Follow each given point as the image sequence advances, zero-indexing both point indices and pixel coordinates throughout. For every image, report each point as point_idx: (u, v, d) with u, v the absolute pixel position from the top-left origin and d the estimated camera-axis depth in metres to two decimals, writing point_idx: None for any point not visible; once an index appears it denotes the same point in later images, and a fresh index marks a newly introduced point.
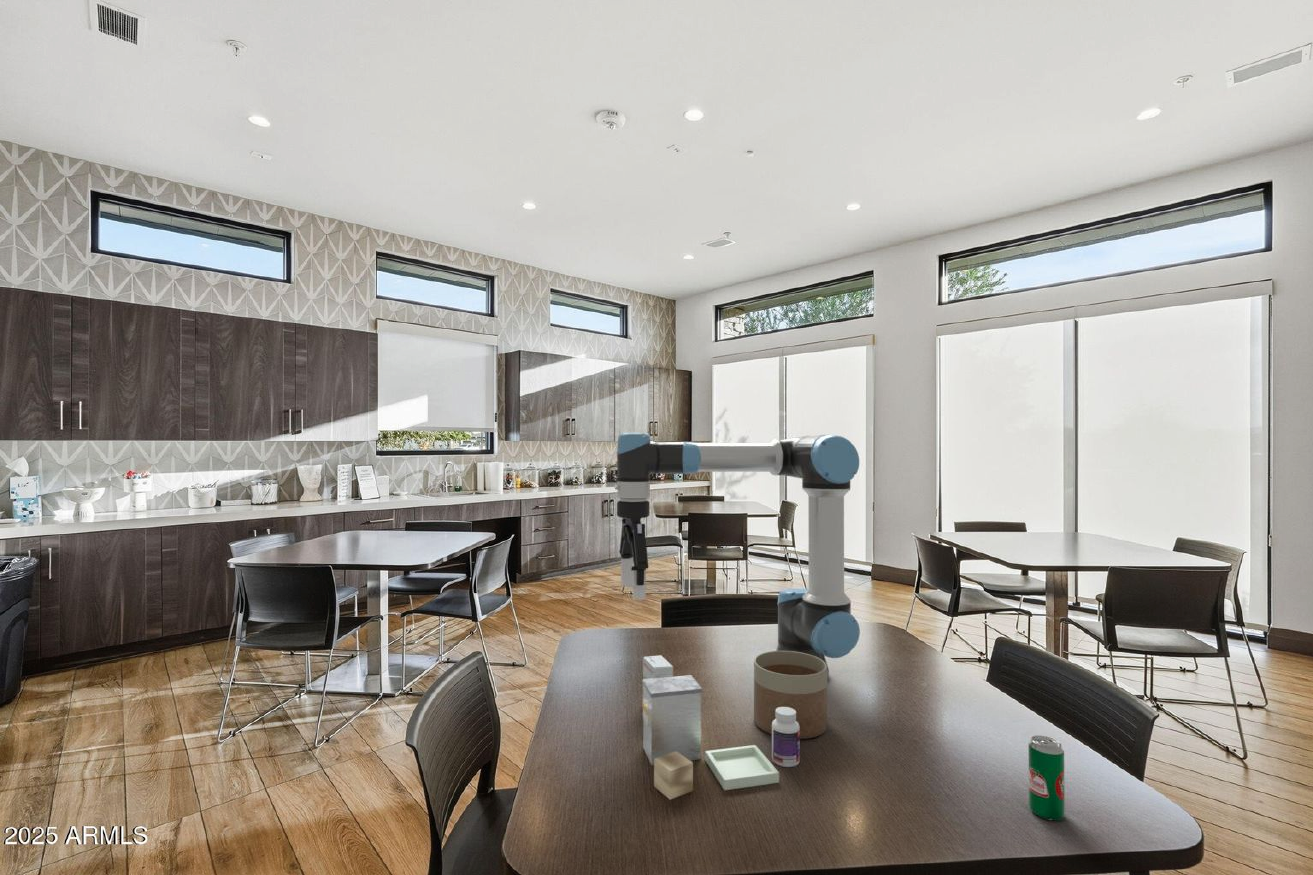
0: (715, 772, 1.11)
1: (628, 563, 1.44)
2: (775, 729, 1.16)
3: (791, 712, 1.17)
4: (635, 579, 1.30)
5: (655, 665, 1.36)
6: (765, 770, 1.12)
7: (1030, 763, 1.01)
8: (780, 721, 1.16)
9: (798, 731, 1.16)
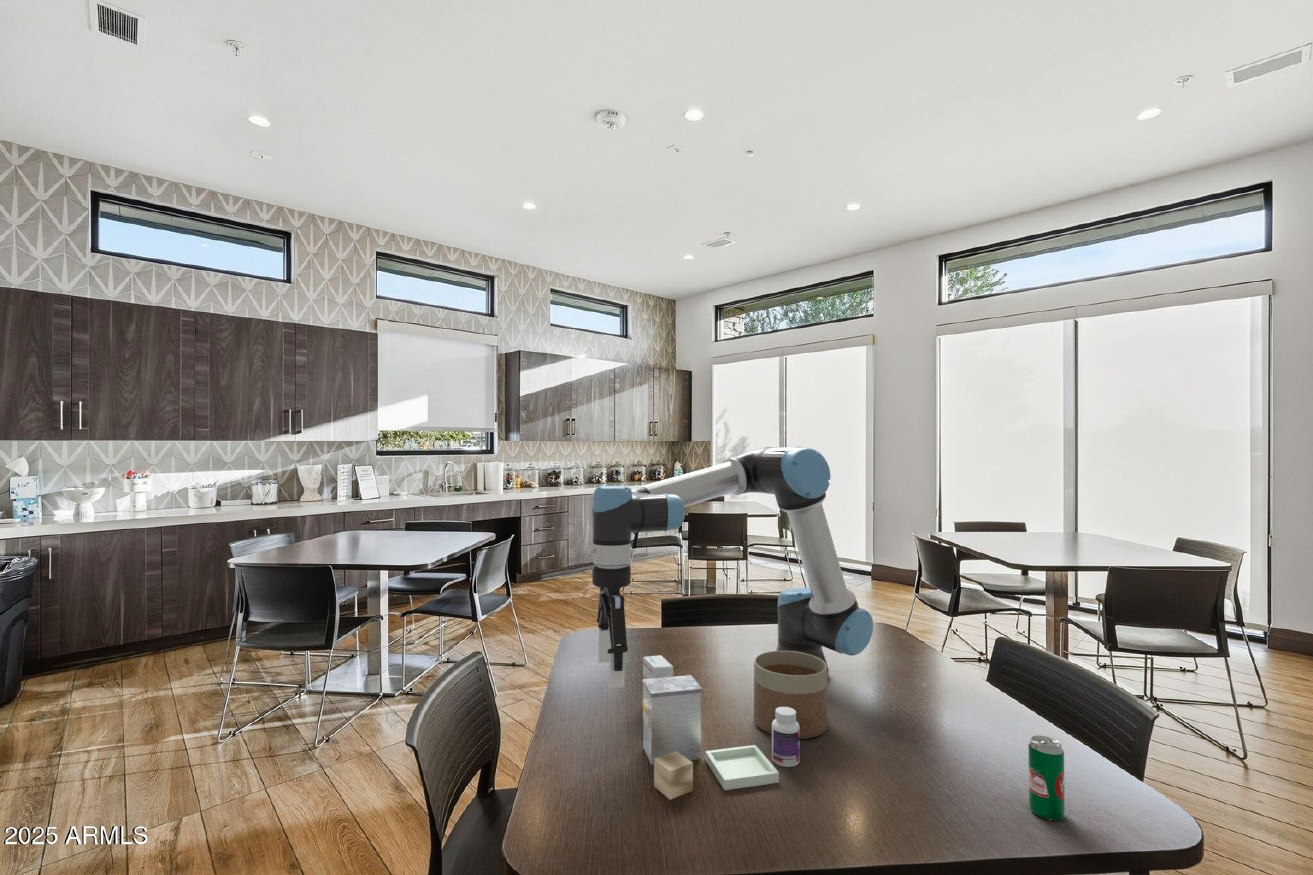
0: (715, 772, 1.11)
1: (606, 635, 1.23)
2: (775, 729, 1.16)
3: (791, 712, 1.17)
4: (612, 663, 1.10)
5: (655, 665, 1.36)
6: (765, 770, 1.12)
7: (1030, 763, 1.01)
8: (780, 721, 1.16)
9: (798, 731, 1.16)
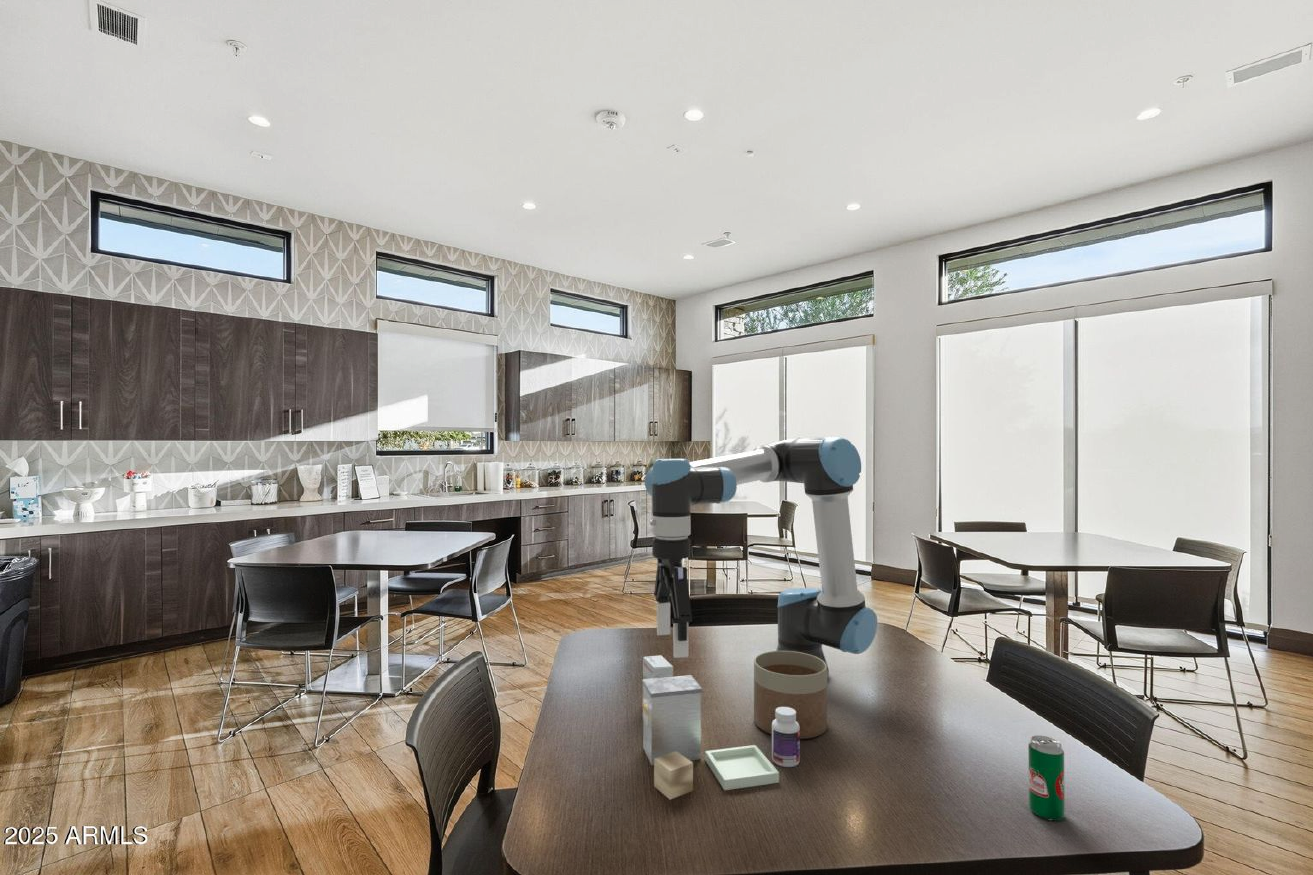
0: (715, 772, 1.11)
1: (665, 608, 1.24)
2: (775, 729, 1.16)
3: (791, 712, 1.17)
4: (676, 633, 1.10)
5: (655, 665, 1.36)
6: (765, 770, 1.12)
7: (1030, 763, 1.01)
8: (780, 721, 1.16)
9: (798, 731, 1.16)
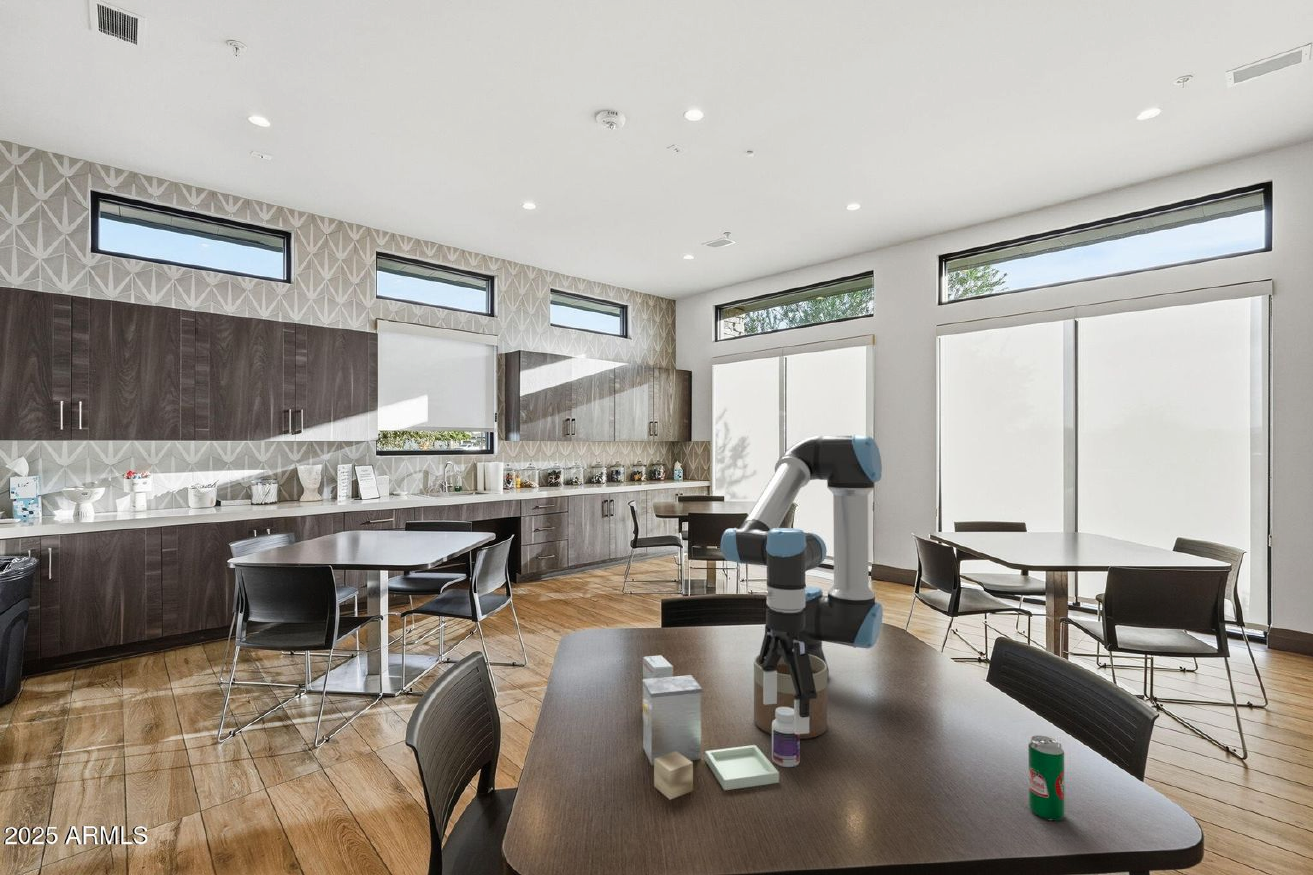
0: (715, 772, 1.11)
1: (772, 677, 1.23)
2: (775, 729, 1.16)
3: (791, 712, 1.17)
4: (798, 709, 1.10)
5: (655, 665, 1.36)
6: (765, 770, 1.12)
7: (1030, 763, 1.01)
8: (780, 721, 1.16)
9: None
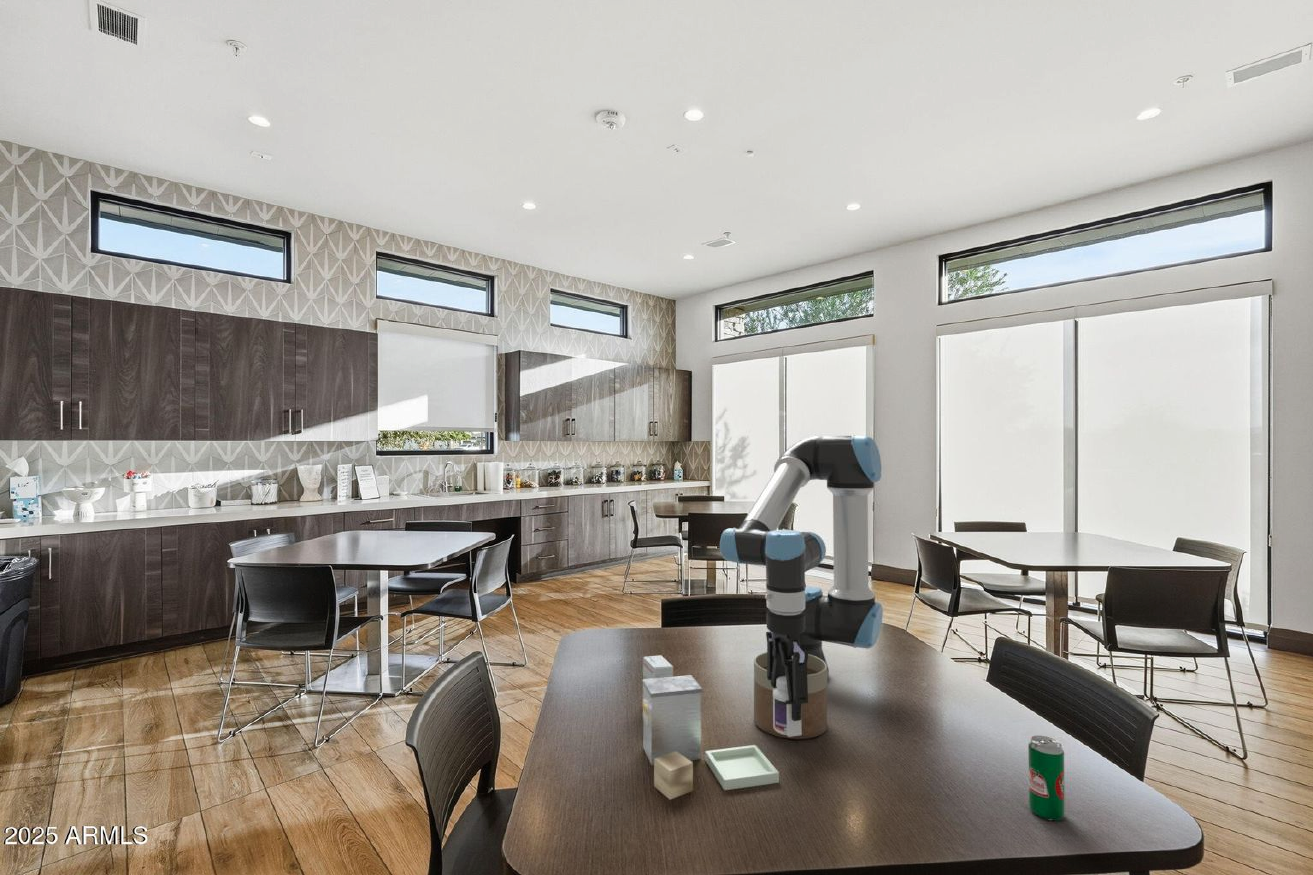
0: (715, 772, 1.11)
1: None
2: (776, 699, 1.16)
3: None
4: (790, 713, 1.14)
5: (655, 665, 1.36)
6: (765, 770, 1.12)
7: (1030, 763, 1.01)
8: (781, 690, 1.16)
9: None
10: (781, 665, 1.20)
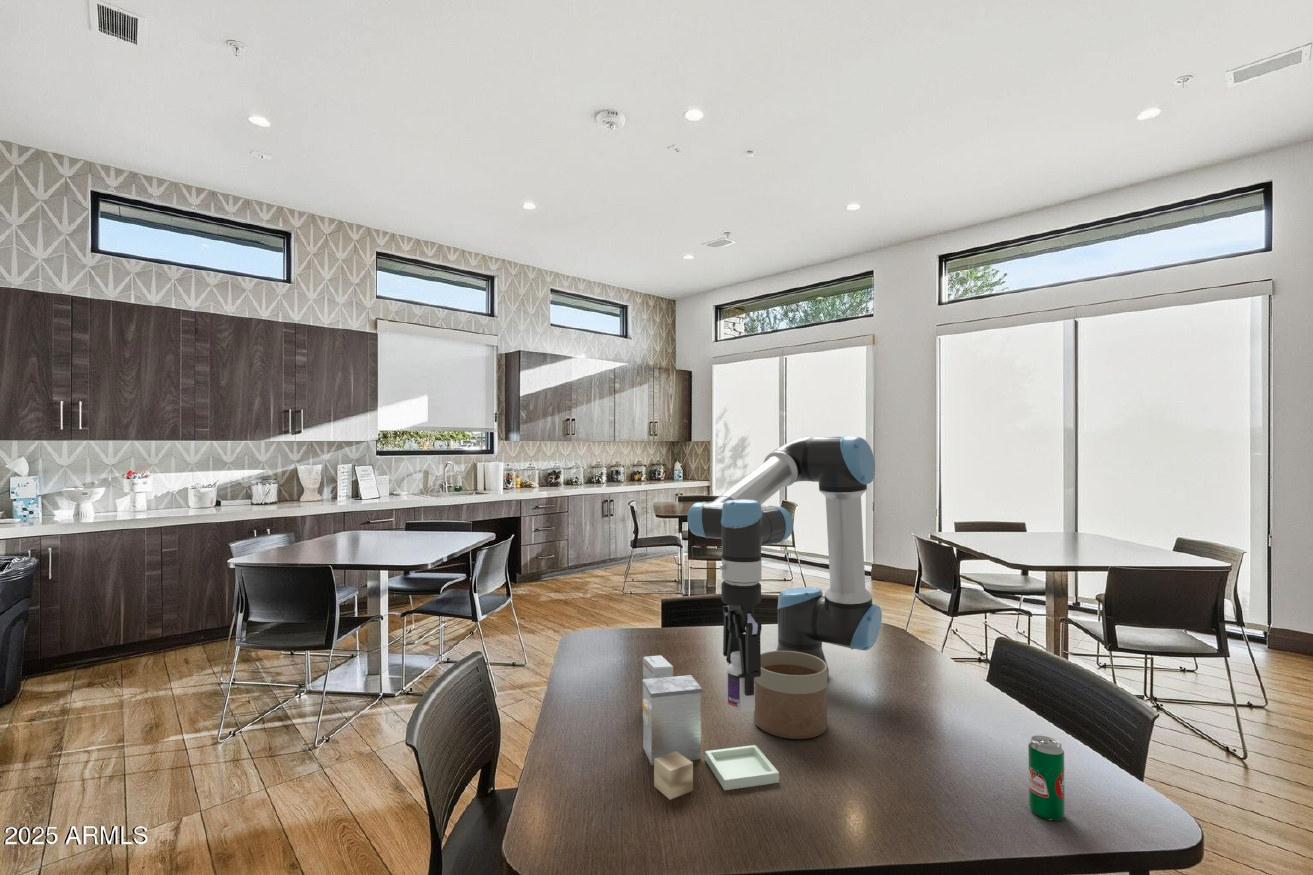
0: (715, 772, 1.11)
1: None
2: (730, 673, 1.12)
3: None
4: (743, 688, 1.10)
5: (655, 665, 1.36)
6: (765, 770, 1.12)
7: (1030, 763, 1.01)
8: (735, 664, 1.12)
9: None
10: (736, 640, 1.16)
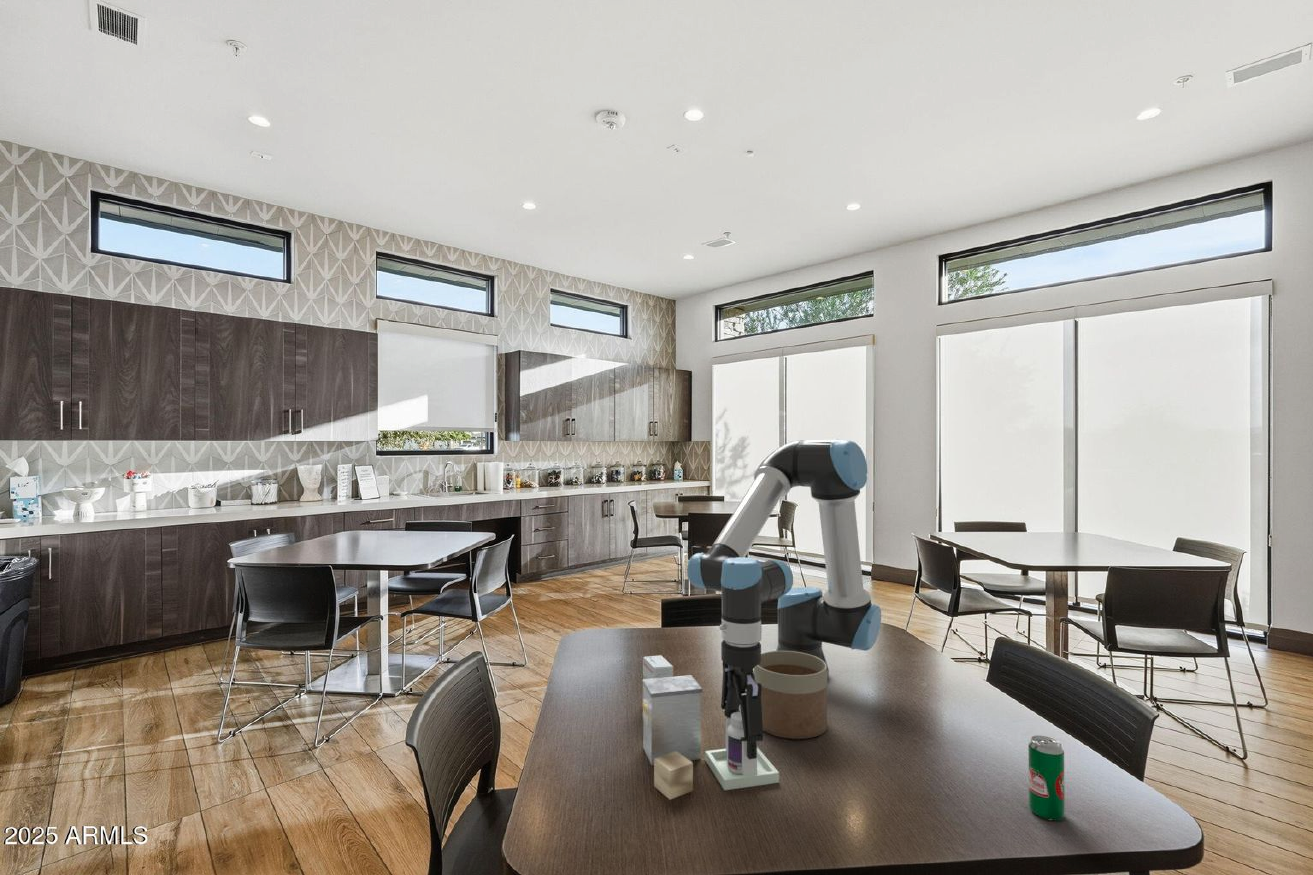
0: (715, 772, 1.11)
1: None
2: (730, 735, 1.12)
3: None
4: (745, 750, 1.09)
5: (655, 665, 1.36)
6: (765, 770, 1.12)
7: (1030, 763, 1.01)
8: (735, 726, 1.12)
9: None
10: (735, 696, 1.16)
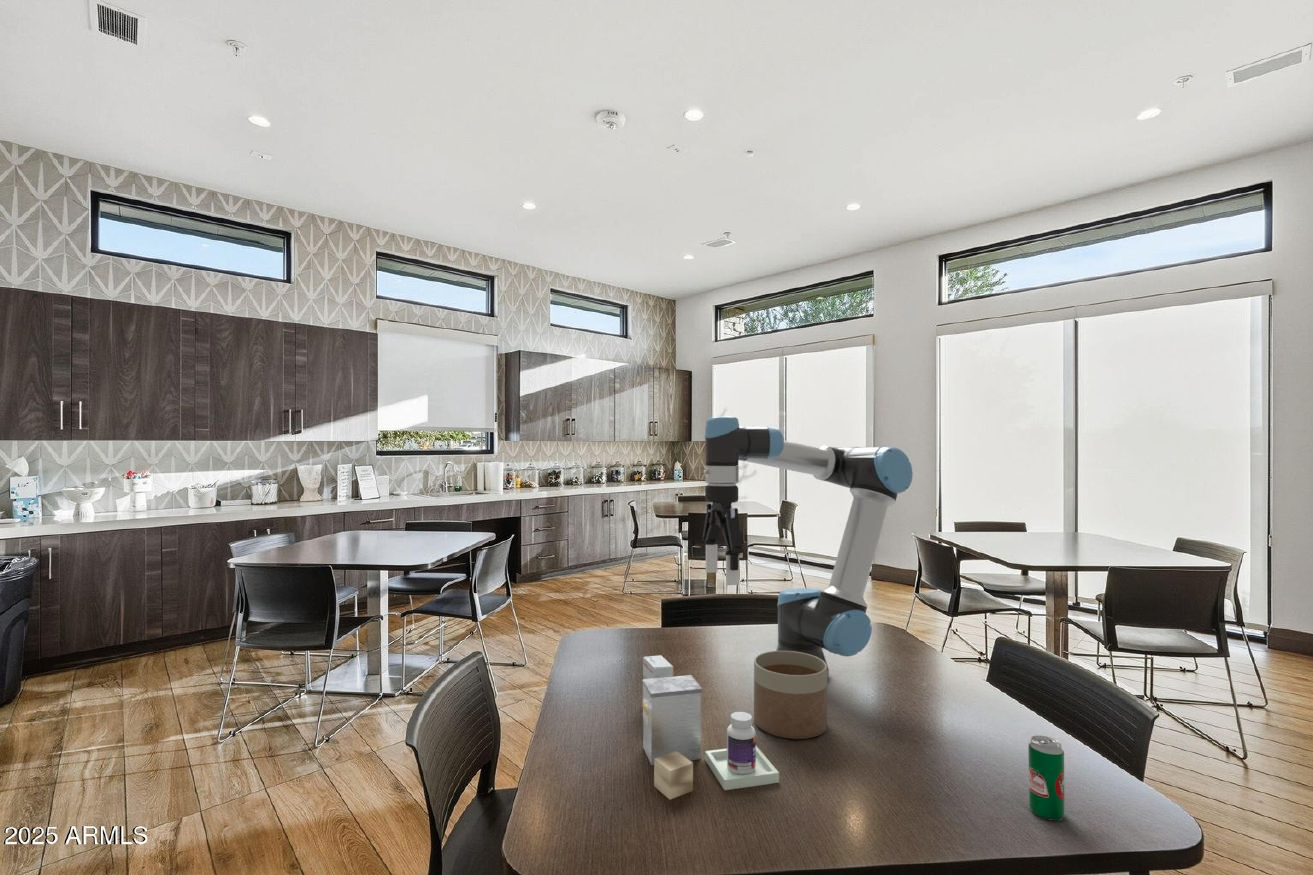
0: (715, 772, 1.11)
1: (713, 549, 1.42)
2: (730, 735, 1.12)
3: (746, 717, 1.13)
4: (729, 564, 1.29)
5: (655, 665, 1.36)
6: (765, 770, 1.12)
7: (1030, 763, 1.01)
8: (735, 726, 1.12)
9: (753, 737, 1.12)
10: (715, 530, 1.40)
